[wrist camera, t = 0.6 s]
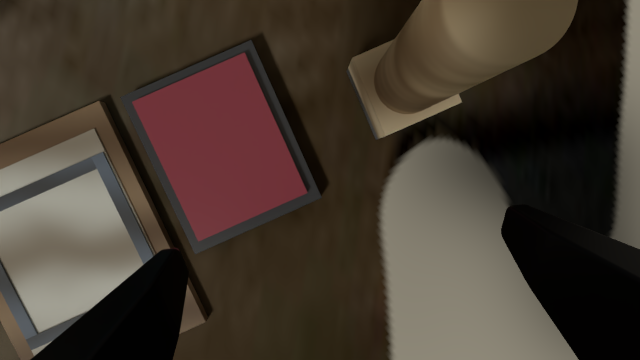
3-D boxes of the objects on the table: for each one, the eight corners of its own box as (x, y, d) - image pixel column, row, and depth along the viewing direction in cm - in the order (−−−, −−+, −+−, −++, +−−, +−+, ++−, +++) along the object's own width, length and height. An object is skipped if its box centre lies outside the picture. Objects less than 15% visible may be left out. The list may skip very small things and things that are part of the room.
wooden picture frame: (208, 317, 22) (204, 323, 21) (47, 390, 22) (37, 398, 21) (105, 102, 21) (97, 100, 20) (-65, 176, 21) (-79, 177, 20)
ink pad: (321, 196, 22) (321, 198, 20) (200, 250, 22) (193, 255, 20) (253, 45, 21) (249, 37, 20) (129, 100, 21) (116, 95, 20)
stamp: (442, 110, 22) (619, 38, 9) (375, 139, 22) (465, 106, 9) (413, 41, 22) (558, -127, 9) (346, 71, 22) (399, -57, 9)
